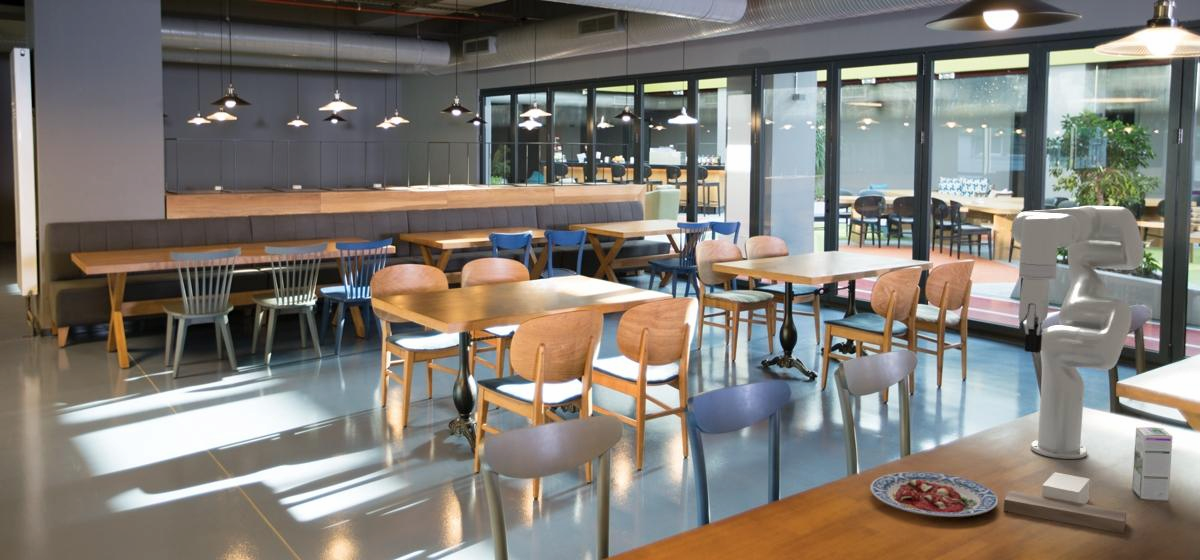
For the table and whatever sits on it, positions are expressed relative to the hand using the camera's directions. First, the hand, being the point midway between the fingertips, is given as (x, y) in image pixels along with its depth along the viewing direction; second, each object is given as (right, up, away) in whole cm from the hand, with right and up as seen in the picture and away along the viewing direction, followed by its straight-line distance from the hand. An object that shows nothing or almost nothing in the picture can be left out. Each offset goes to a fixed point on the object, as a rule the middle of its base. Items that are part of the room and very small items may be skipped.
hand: (1032, 351), depth 218 cm
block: (+1, -32, -13) cm, 34 cm away
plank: (-3, -32, -21) cm, 39 cm away
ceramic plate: (-27, -32, -12) cm, 43 cm away
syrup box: (+21, -31, -9) cm, 39 cm away
